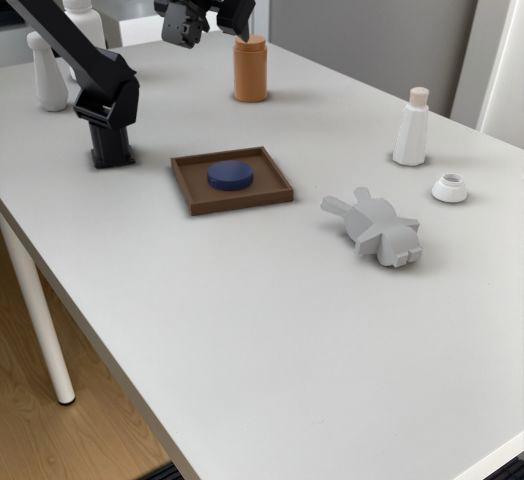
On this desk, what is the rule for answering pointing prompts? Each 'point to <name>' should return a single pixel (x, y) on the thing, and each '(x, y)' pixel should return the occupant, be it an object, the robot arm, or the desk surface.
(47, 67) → the salt shaker
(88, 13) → the pill bottle
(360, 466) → the desk surface
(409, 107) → the pepper shaker
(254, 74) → the jar
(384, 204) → the bunny figurine
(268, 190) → the tray
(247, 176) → the lid
